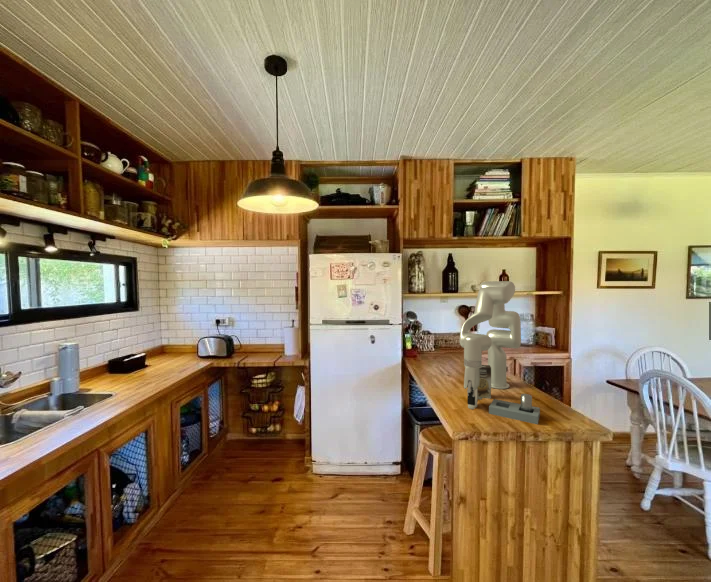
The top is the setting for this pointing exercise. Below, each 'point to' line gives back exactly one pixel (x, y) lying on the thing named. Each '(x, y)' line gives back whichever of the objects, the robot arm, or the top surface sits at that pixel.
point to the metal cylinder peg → (526, 403)
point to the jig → (514, 411)
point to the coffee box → (485, 382)
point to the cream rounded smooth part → (475, 400)
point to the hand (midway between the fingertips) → (472, 402)
